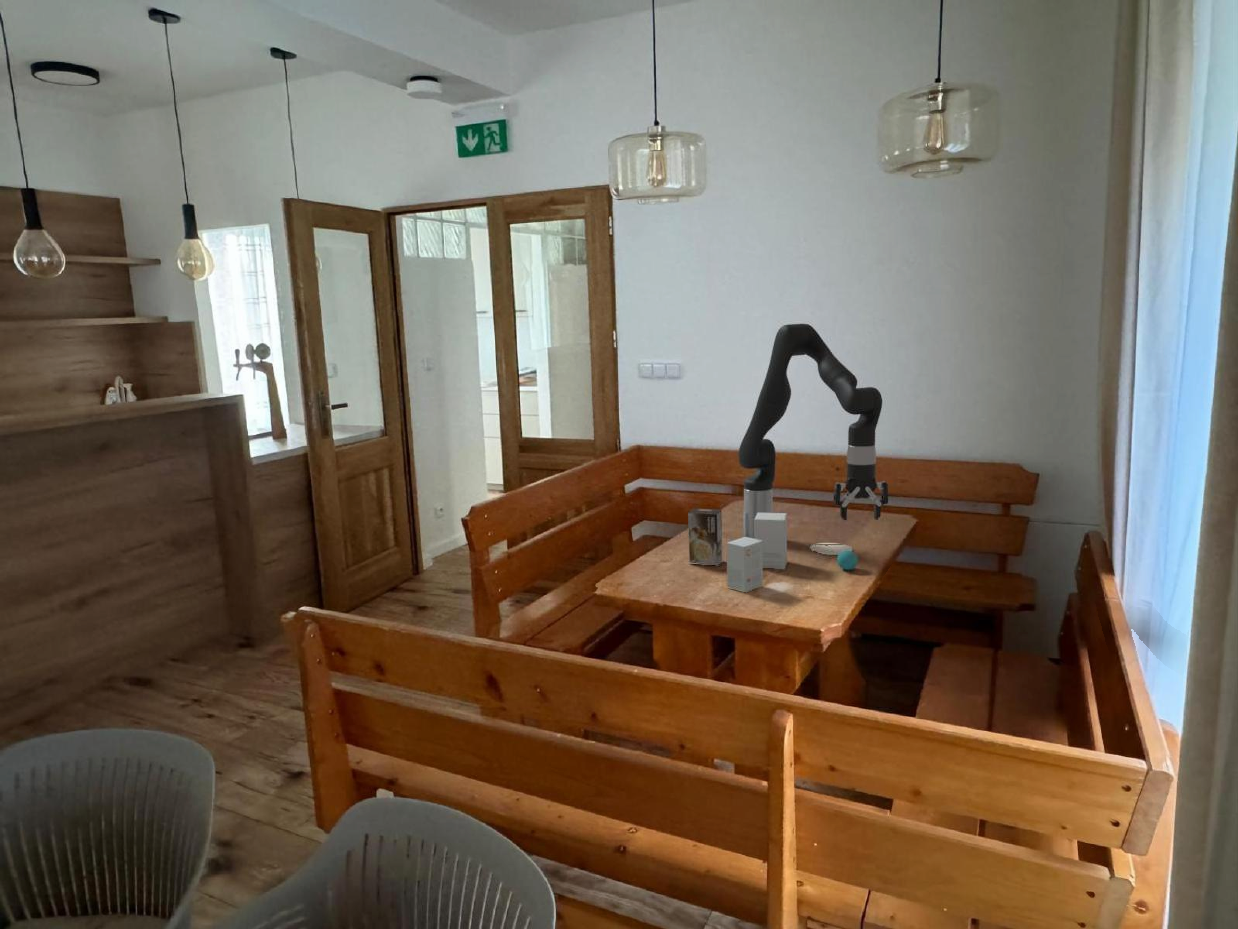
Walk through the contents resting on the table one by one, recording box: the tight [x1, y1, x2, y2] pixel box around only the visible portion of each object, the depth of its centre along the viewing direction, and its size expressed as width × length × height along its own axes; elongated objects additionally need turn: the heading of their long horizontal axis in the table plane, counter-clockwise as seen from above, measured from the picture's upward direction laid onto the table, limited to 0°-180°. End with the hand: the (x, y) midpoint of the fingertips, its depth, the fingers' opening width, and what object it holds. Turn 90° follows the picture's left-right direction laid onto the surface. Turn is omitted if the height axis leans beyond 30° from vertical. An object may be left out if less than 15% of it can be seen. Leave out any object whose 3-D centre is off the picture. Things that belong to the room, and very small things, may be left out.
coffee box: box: [687, 507, 723, 566], centre depth 244 cm, size 9×6×16 cm
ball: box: [836, 550, 858, 571], centre depth 235 cm, size 6×6×6 cm
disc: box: [809, 542, 853, 556], centre depth 256 cm, size 13×13×1 cm
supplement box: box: [754, 512, 788, 570], centre depth 240 cm, size 9×9×15 cm
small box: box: [726, 536, 764, 593], centre depth 221 cm, size 8×6×13 cm
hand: (860, 519), depth 224 cm, fingers open, 8 cm apart
